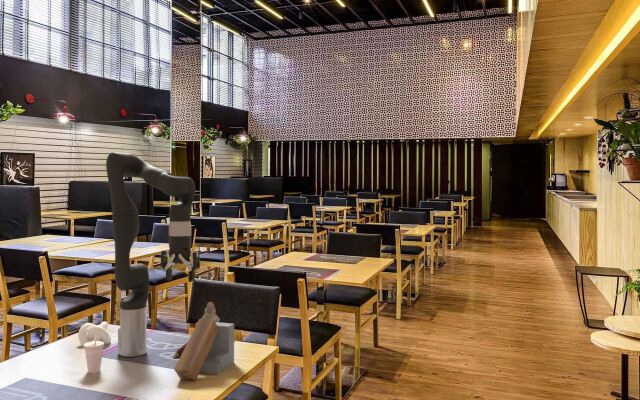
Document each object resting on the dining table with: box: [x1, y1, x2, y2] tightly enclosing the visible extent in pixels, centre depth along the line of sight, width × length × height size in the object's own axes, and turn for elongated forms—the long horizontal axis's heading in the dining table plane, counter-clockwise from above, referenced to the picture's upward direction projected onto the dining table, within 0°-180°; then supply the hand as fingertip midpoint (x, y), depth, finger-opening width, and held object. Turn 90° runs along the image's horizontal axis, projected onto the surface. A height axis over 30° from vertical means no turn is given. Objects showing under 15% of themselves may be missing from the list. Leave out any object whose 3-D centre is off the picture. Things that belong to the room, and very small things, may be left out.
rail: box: [173, 318, 219, 382], centre depth 169 cm, size 6×20×6 cm
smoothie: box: [83, 330, 105, 374], centre depth 170 cm, size 6×6×14 cm
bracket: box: [195, 321, 235, 375], centre depth 176 cm, size 13×12×14 cm
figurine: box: [201, 301, 221, 323], centre depth 197 cm, size 9×8×20 cm
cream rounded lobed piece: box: [77, 321, 112, 347], centre depth 199 cm, size 11×12×9 cm
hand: (180, 280), depth 175 cm, fingers open, 8 cm apart
